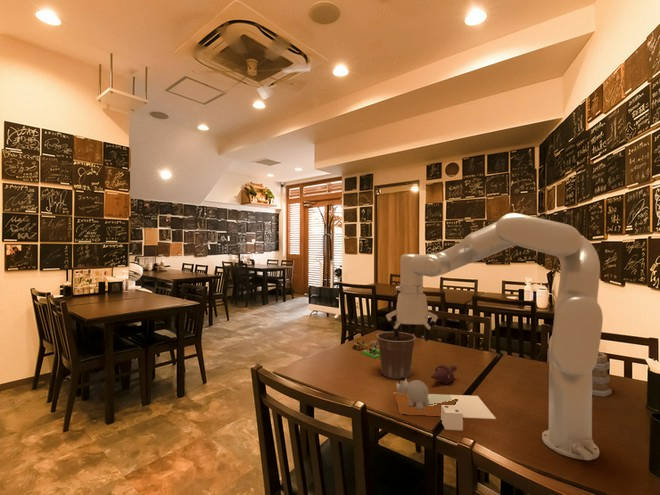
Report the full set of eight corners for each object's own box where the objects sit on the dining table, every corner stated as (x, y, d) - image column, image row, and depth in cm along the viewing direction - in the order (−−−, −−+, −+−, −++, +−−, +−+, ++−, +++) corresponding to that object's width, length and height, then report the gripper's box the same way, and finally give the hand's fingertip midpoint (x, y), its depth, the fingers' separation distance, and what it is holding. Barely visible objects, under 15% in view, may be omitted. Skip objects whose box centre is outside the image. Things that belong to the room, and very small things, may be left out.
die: (462, 430, 98) (462, 413, 98) (445, 429, 99) (445, 412, 99) (457, 421, 103) (457, 405, 103) (440, 420, 104) (441, 404, 104)
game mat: (496, 419, 105) (496, 418, 105) (399, 414, 107) (399, 414, 107) (477, 396, 121) (477, 395, 121) (393, 393, 123) (393, 392, 123)
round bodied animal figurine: (403, 394, 121) (403, 371, 121) (432, 406, 112) (432, 381, 112) (390, 400, 117) (390, 376, 117) (420, 413, 108) (420, 387, 108)
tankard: (599, 384, 132) (599, 346, 132) (617, 398, 120) (617, 356, 120) (542, 378, 137) (542, 342, 137) (553, 391, 125) (554, 351, 125)
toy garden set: (375, 360, 160) (375, 350, 160) (349, 350, 176) (349, 341, 176) (406, 351, 174) (406, 342, 174) (380, 342, 190) (380, 334, 190)
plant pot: (380, 365, 152) (380, 329, 152) (417, 369, 147) (417, 333, 147) (372, 378, 137) (373, 339, 137) (413, 384, 131) (413, 343, 131)
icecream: (441, 374, 125) (465, 369, 134) (426, 363, 131) (449, 359, 140) (436, 390, 126) (460, 385, 135) (421, 379, 132) (445, 374, 141)
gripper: (387, 291, 112) (387, 342, 112) (440, 291, 110) (440, 343, 110) (385, 288, 119) (385, 336, 119) (434, 288, 118) (434, 337, 118)
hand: (411, 339), depth 115 cm, fingers open, 9 cm apart
